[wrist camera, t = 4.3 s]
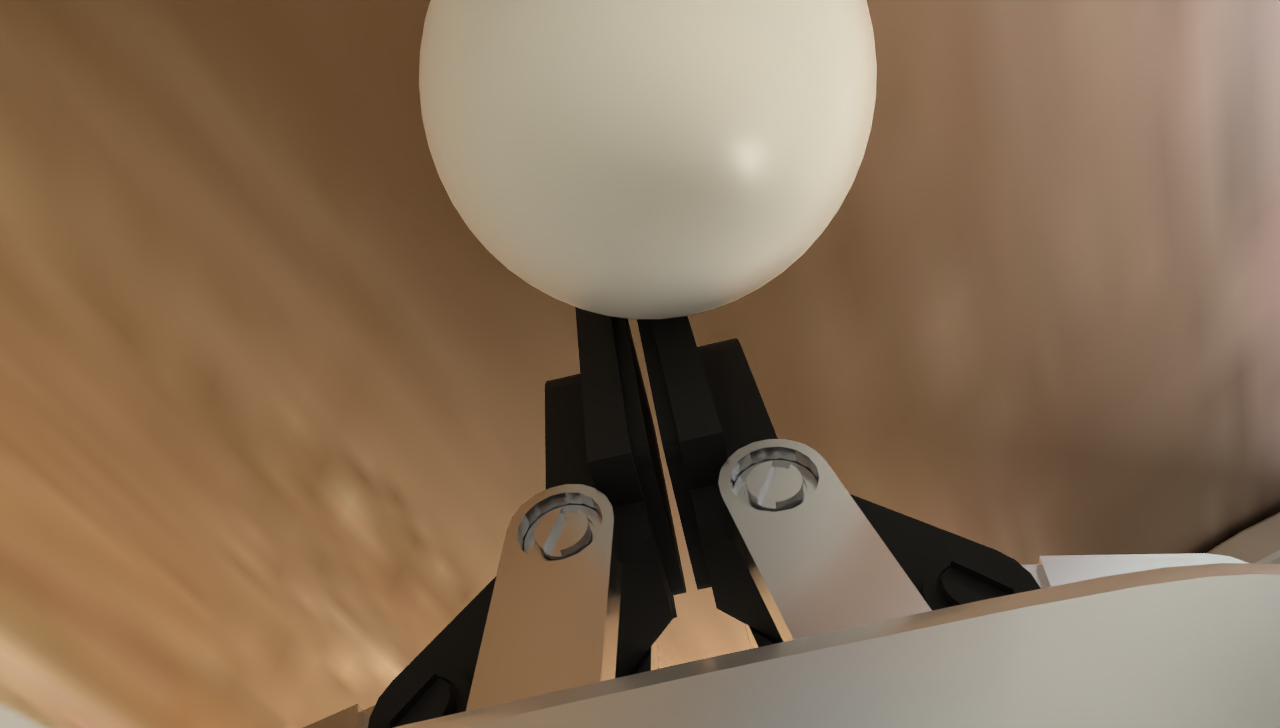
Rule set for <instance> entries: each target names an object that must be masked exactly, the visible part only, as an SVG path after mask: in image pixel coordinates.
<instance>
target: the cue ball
mask: <svg viewBox="0 0 1280 728" xmlns="http://www.w3.org/2000/svg"><path fill="white" fill-rule="evenodd" d="M876 81H877V62H876V51H875V41H874V31H873V27H872V22H871V18H870V13H869V9H868V5H867V0H430V4H429V7H428V10H427V14H426V17H425V23H424V29H423V35H422V41H421V48H420V64H419V91H420V102H421V113H422V119H423V124H424V129H425V133H426V138H427V142H428V147H429V150H430V153H431V155H432V158H433V161H434V164H435V167H436V170H437V172H438V175H439V178H440V180H441V182H442V184H443V186H444V188H445V190H446V192H447V194H448V196H449V198H450V200H451V202H452V204H453V205H454V207H455V208H456V210H457V211H458V213H459V214H460V216H461V217H462V219H463V220H464V222H465V223H466V225H467V226H468V228H469V229H470V230H471V232H472V233H473V234H474V235H475V236H476V237H477V239H478V240H479V241H480V242H481V243H482V244H483V246H484V247H485V248H486V249H487V250H488V251H489V252H490V253H491V254H492V255H493V256H494V257H495V258H496V259H497V260H499V261H500V262H501V263H502V264H503V265H504V266H505V267H506V268H507V269H508V270H510V271H511V272H513V273H514V274H515V275H517V276H518V277H520V278H521V279H522V280H524V281H525V282H527V283H528V284H529V285H531V286H533V287H535V288H536V289H538V290H540V291H542V292H544V293H546V294H547V295H549V296H551V297H553V298H555V299H557V300H560V301H562V302H565V303H567V304H570V305H572V306H575V307H577V308H580V309H583V310H587V311H590V312H594V313H598V314H602V315H606V316H612V317H620V318H628V319H666V318H675V317H683V316H689V315H693V314H697V313H701V312H705V311H709V310H712V309H715V308H718V307H720V306H723V305H726V304H728V303H731V302H734V301H736V300H738V299H740V298H742V297H744V296H746V295H748V294H750V293H751V292H753V291H755V290H757V289H759V288H761V287H762V286H764V285H765V284H767V283H768V282H770V281H771V280H772V279H774V278H775V277H777V276H778V275H780V274H781V273H783V272H784V271H785V270H786V269H787V268H788V267H789V266H791V265H792V264H793V263H794V262H795V261H796V260H797V259H799V258H800V257H801V256H802V255H803V254H804V253H805V252H806V251H807V250H808V249H809V247H810V246H811V245H812V244H813V243H814V242H815V241H816V240H817V239H818V237H819V236H820V235H821V234H822V233H823V231H824V230H825V229H826V227H827V226H828V224H829V223H830V222H831V220H832V219H833V217H834V216H835V215H836V213H837V212H838V210H839V208H840V207H841V205H842V203H843V201H844V199H845V197H846V196H847V194H848V192H849V190H850V188H851V186H852V185H853V182H854V180H855V177H856V175H857V172H858V170H859V167H860V165H861V162H862V160H863V157H864V154H865V150H866V146H867V143H868V139H869V135H870V132H871V128H872V121H873V115H874V108H875V101H876Z"/></svg>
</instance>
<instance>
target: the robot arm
mask: <svg viewBox="0 0 1280 728" xmlns="http://www.w3.org/2000/svg"><path fill="white" fill-rule="evenodd" d="M576 320H577V333H578V346H579V359H580V372H581V374H577V375H573V376H568V377H564V378H559V379H555V380H551V381H547V382H546V384H545V447H546V490H545V491H543V492H540V493H538V494H536V495H535V496H533V497H532V498H531V499H529V500H528V501H527V502H525V503H524V504H523V505H522V506H521V507H520V508H519V510H518V511H517V512H516V513H515V515H514V516H513V517H512V520H511V522H510V524H509V527H508V529H507V533H506V537H505V541H504V546H503V550H502V554H501V559H500V563H499V568H498V572H497V576H496V577H495V578H494V579H493V580H492V581H491V582H490V583H489V584H488V585H487V586H486V587H485V588H484V589H483V590H482V591H481V592H480V593H479V594H478V595H477V596H476V597H475V598H474V599H473V600H472V601H471V602H470V603H469V604H468V605H467V606H466V607H465V608H464V609H463V610H462V611H461V612H460V613H459V614H458V615H457V616H456V617H455V618H454V619H453V621H452V622H451V623H450V624H449V625H448V626H447V627H446V628H445V629H444V630H443V631H442V632H441V633H440V634H439V635H438V636H437V637H436V638H435V639H434V640H433V641H432V642H431V643H430V644H429V645H428V646H427V647H426V648H425V649H424V650H423V651H422V652H421V653H420V654H419V655H418V656H417V657H416V658H415V659H414V660H413V661H412V662H411V663H410V664H409V665H408V666H407V667H406V668H405V669H404V670H403V671H402V672H401V673H400V674H399V675H398V676H397V677H396V678H395V679H394V680H393V681H392V682H391V684H390V685H389V686H388V687H387V689H386V690H385V691H384V692H383V694H382V695H381V696H380V697H379V699H378V701H377V703H376V705H375V706H372V707H370V708H368V709H366V710H362V709H361V707H360V706H359V705H358V704H356V705H354V706H351V707H349V708H347V709H345V710H342V711H340V712H338V713H335V714H333V715H331V716H329V717H326V718H324V719H322V720H320V721H317V722H315V723H313V724H310V725H308V726H306V727H304V728H1280V512H1279V513H1277V514H1275V515H1273V516H1271V517H1269V518H1267V519H1265V520H1263V521H1261V522H1259V523H1257V524H1255V525H1253V526H1251V527H1249V528H1247V529H1245V530H1243V531H1241V532H1239V533H1237V534H1236V535H1234V536H1233V537H1231V538H1229V539H1228V540H1226V541H1225V542H1223V543H1221V544H1220V545H1218V546H1216V547H1215V548H1213V549H1212V550H1210V551H1208V552H1207V553H1183V554H1118V555H1054V556H1039V560H1038V564H1027V565H1020V564H1019V563H1018V562H1017V561H1016V560H1014V559H1012V558H1010V557H1008V556H1006V555H1004V554H1003V553H1001V552H999V551H997V550H994V549H992V548H989V547H986V546H984V545H981V544H979V543H976V542H973V541H971V540H968V539H966V538H963V537H960V536H958V535H955V534H953V533H950V532H947V531H945V530H942V529H939V528H937V527H934V526H932V525H929V524H926V523H924V522H921V521H919V520H916V519H913V518H911V517H908V516H906V515H903V514H900V513H898V512H895V511H893V510H890V509H887V508H885V507H882V506H880V505H877V504H874V503H872V502H869V501H866V500H864V499H861V498H859V497H856V496H853V495H851V494H849V492H848V491H847V490H846V488H845V487H844V485H843V484H842V483H841V481H840V480H839V478H838V477H837V476H836V474H835V473H834V471H833V470H832V468H831V467H830V466H829V464H828V463H827V461H826V460H825V459H824V458H823V457H822V456H821V455H820V454H819V453H818V452H817V451H816V450H815V449H813V448H811V447H809V446H807V445H805V444H803V443H801V442H796V441H792V440H788V439H778V438H777V436H776V433H775V431H774V428H773V426H772V423H771V421H770V418H769V416H768V413H767V411H766V408H765V406H764V403H763V400H762V398H761V395H760V393H759V390H758V388H757V385H756V383H755V380H754V378H753V375H752V373H751V370H750V368H749V365H748V363H747V360H746V358H745V355H744V353H743V350H742V348H741V345H740V343H739V341H738V339H737V338H735V339H731V340H727V341H722V342H718V343H713V344H709V345H705V346H700V347H697V346H696V343H695V339H694V336H693V333H692V330H691V327H690V323H689V320H688V317H687V316H683V317H675V318H666V319H637V322H638V327H639V332H640V337H641V342H642V347H643V351H644V356H645V361H646V366H647V371H648V376H649V381H650V386H651V391H652V396H653V401H654V406H655V411H656V416H657V421H658V426H659V430H660V435H661V440H662V444H663V449H664V453H665V458H666V462H667V466H668V470H669V474H670V478H671V482H672V486H673V491H674V495H675V499H676V503H677V507H678V511H679V515H680V519H681V523H682V527H683V532H684V536H685V540H686V544H687V548H688V552H689V556H690V560H691V564H692V568H693V573H694V577H695V581H696V585H697V589H698V590H699V589H703V588H708V587H712V589H713V594H714V598H715V602H716V607H717V609H719V610H721V611H723V612H725V613H727V614H728V615H730V616H732V617H734V618H736V619H738V620H739V621H741V622H743V623H745V627H746V631H747V635H748V638H749V641H750V643H751V645H752V647H753V649H749V650H744V651H740V652H735V653H730V654H726V655H721V656H716V657H712V658H707V659H702V660H698V661H693V662H689V663H684V664H679V665H675V666H670V667H665V668H661V669H659V655H658V649H657V643H656V640H657V638H658V637H659V636H660V634H661V633H662V632H663V631H664V629H665V628H666V627H667V625H668V624H669V623H670V621H671V620H672V619H673V618H675V617H677V614H676V608H675V603H674V597H673V595H676V594H681V593H685V592H686V587H685V582H684V577H683V571H682V566H681V561H680V556H679V551H678V546H677V541H676V536H675V530H674V525H673V520H672V515H671V510H670V505H669V500H668V494H667V489H666V484H665V479H664V474H663V469H662V464H661V459H660V453H659V448H658V443H657V438H656V433H655V428H654V424H653V419H652V415H651V411H650V407H649V403H648V399H647V395H646V391H645V387H644V383H643V379H642V375H641V371H640V367H639V363H638V359H637V355H636V351H635V347H634V343H633V339H632V335H631V331H630V326H629V322H628V318H620V317H612V316H606V315H602V314H598V313H594V312H590V311H587V310H583V309H580V308H577V307H576Z"/></svg>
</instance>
